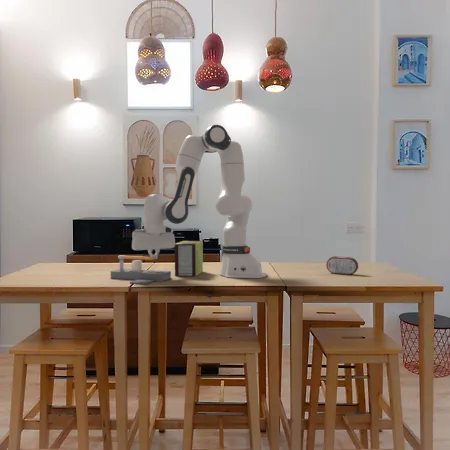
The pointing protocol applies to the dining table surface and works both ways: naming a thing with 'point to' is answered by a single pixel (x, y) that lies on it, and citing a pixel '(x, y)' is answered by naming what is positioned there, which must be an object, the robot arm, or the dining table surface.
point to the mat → (142, 281)
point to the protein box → (188, 258)
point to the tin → (342, 265)
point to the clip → (135, 257)
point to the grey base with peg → (139, 274)
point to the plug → (136, 266)
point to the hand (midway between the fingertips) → (153, 258)
